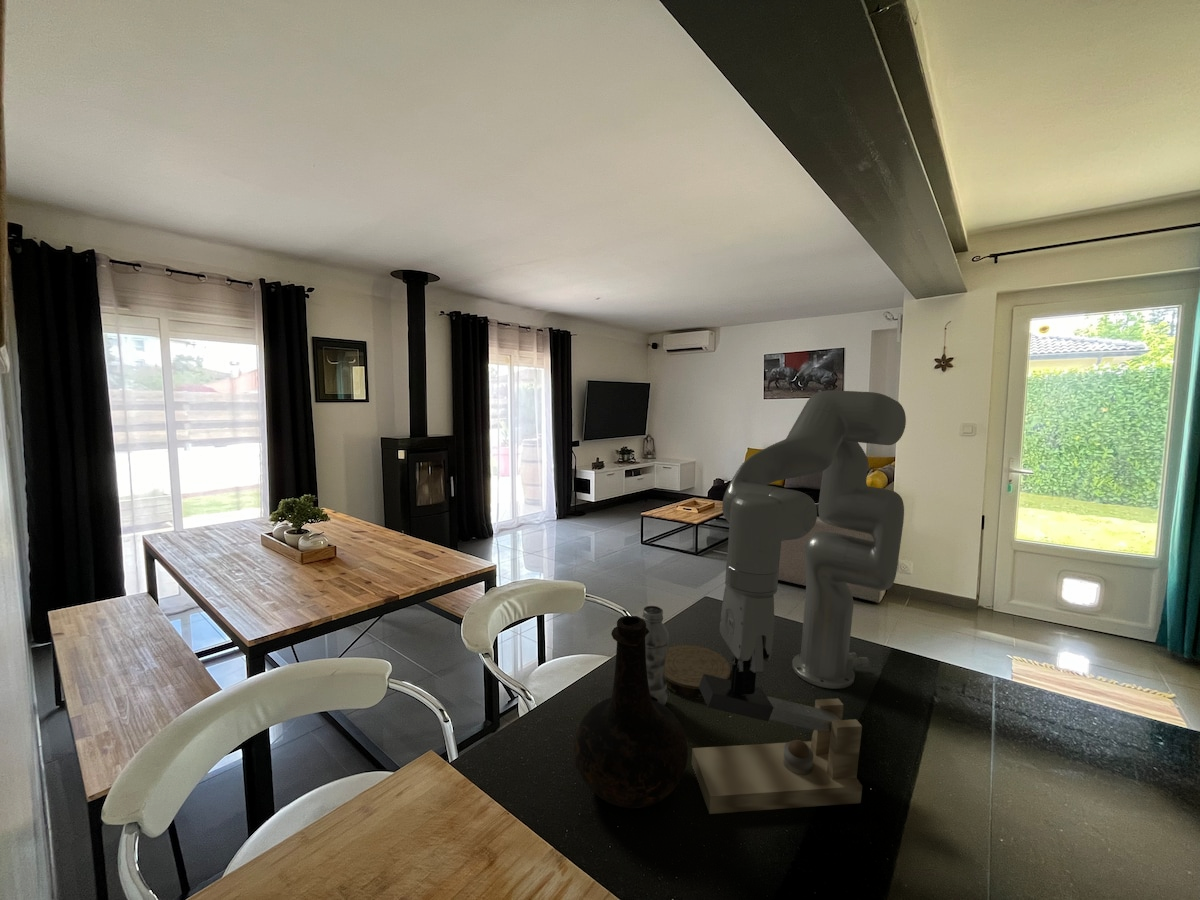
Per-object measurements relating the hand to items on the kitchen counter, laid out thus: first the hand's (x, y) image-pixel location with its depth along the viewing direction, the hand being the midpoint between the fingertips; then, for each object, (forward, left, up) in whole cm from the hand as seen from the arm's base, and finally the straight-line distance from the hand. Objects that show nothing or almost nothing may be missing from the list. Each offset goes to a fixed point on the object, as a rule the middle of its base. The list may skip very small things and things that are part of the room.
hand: (742, 690), depth 82 cm
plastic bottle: (+10, -22, -17) cm, 29 cm away
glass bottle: (+17, -3, -17) cm, 24 cm away
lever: (-5, -1, -5) cm, 7 cm away
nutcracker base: (-6, -1, -17) cm, 18 cm away
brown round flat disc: (-1, -31, -18) cm, 35 cm away
